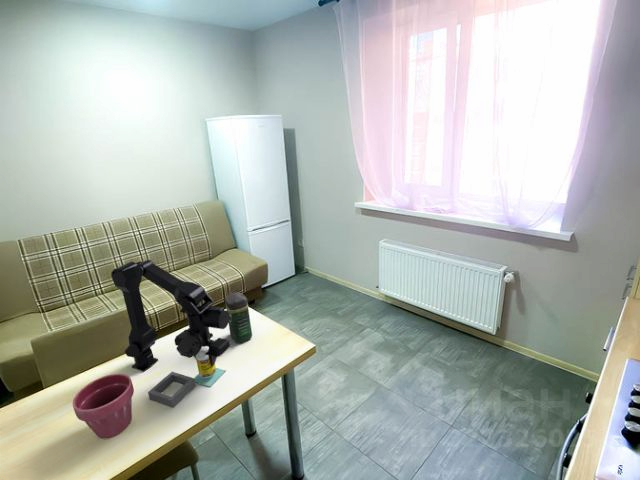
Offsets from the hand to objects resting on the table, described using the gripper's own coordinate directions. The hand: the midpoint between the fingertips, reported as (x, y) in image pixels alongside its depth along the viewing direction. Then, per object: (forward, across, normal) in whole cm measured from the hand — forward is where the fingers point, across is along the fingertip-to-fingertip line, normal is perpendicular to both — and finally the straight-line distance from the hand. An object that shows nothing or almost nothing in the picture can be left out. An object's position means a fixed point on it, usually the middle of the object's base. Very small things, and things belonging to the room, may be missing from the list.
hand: (206, 363), depth 113 cm
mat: (+5, 0, 0) cm, 5 cm away
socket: (+5, -6, -10) cm, 13 cm away
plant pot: (+6, -13, -26) cm, 29 cm away
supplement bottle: (+4, 0, 0) cm, 4 cm away
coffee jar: (+6, -3, +23) cm, 24 cm away
